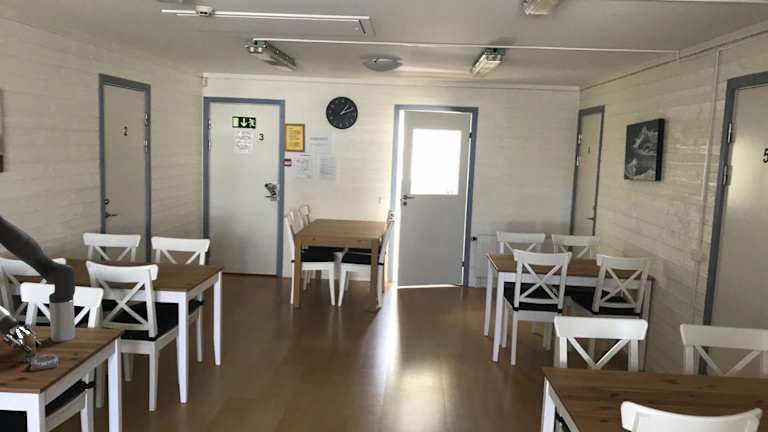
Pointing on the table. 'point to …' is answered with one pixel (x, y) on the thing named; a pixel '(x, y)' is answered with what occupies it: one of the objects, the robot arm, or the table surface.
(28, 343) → the brown round piece
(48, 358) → the carrier plate
